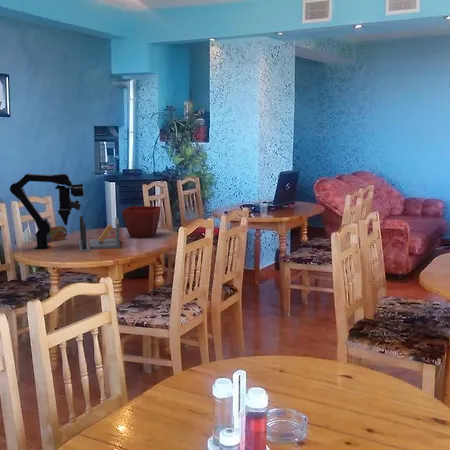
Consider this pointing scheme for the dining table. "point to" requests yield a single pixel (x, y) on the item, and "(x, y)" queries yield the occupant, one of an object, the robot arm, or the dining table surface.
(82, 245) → the stand
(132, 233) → the plant pot
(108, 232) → the lever
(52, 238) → the tin
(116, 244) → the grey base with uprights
